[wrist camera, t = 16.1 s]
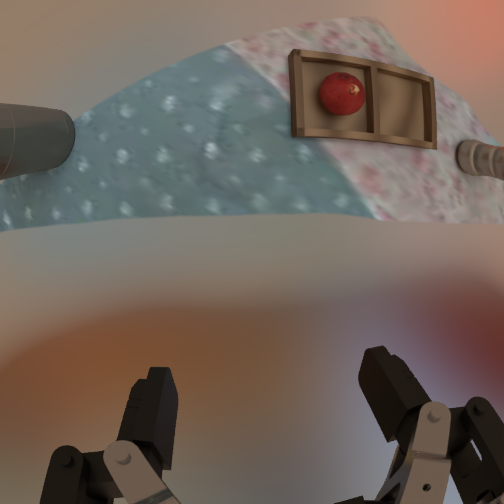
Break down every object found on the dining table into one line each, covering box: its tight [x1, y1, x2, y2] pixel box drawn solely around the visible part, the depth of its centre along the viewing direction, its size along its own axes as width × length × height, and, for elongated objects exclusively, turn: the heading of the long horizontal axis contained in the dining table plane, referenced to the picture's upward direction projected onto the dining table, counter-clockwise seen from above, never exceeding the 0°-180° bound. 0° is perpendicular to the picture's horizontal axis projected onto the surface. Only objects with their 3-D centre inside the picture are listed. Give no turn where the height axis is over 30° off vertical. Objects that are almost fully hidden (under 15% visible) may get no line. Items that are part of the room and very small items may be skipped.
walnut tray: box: [288, 49, 437, 150], centre depth 33 cm, size 23×12×3 cm, turn 92°
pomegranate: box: [319, 72, 366, 115], centre depth 29 cm, size 6×6×8 cm
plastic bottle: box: [458, 139, 504, 181], centre depth 28 cm, size 6×7×20 cm
